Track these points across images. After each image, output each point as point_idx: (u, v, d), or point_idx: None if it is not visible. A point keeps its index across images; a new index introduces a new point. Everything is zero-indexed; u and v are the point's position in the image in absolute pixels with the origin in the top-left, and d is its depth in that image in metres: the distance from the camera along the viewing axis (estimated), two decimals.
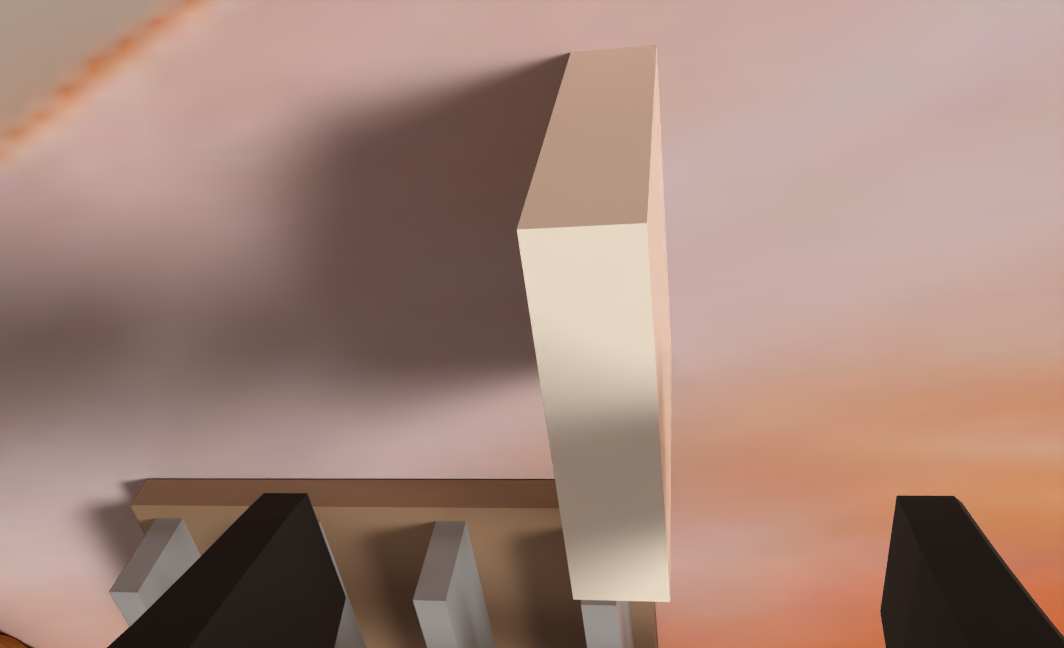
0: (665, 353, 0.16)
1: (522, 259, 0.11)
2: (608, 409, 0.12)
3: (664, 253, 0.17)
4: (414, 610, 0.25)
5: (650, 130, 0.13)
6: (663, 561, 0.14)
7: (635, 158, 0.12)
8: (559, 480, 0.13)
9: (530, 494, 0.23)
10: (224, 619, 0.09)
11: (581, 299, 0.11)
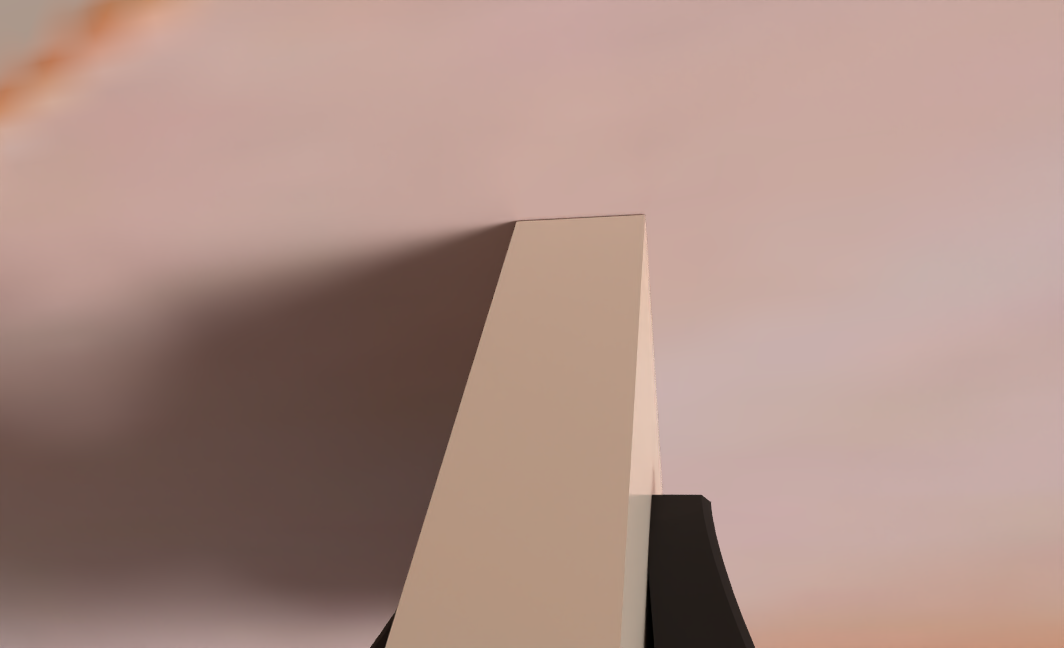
0: None
1: None
2: None
3: None
4: None
5: (629, 442, 0.07)
6: None
7: (598, 528, 0.07)
8: None
9: None
10: None
11: None
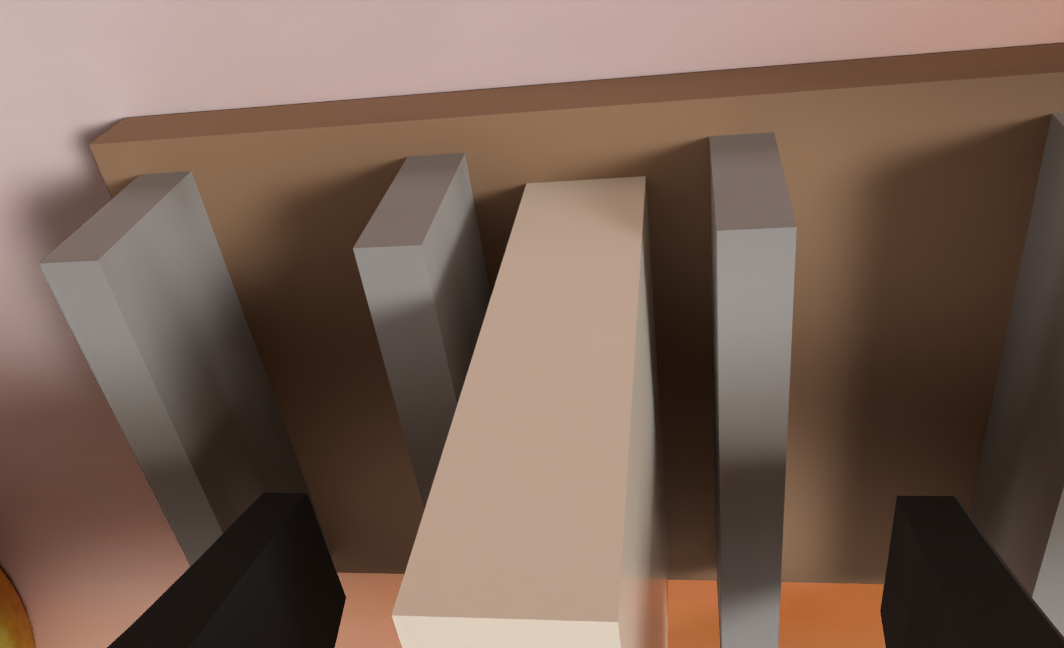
0: (658, 614, 0.11)
1: None
2: None
3: (657, 452, 0.13)
4: None
5: (631, 364, 0.08)
6: None
7: (604, 432, 0.08)
8: None
9: (913, 69, 0.11)
10: (224, 619, 0.09)
11: None
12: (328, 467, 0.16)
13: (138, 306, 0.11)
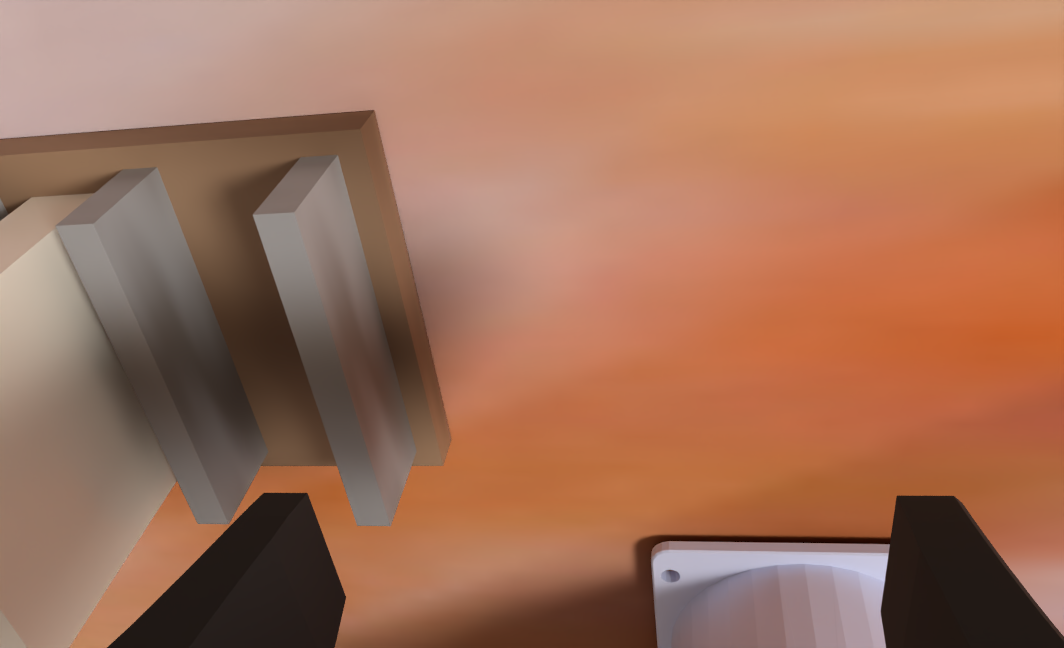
0: (97, 459, 0.19)
1: None
2: None
3: None
4: None
5: None
6: (24, 646, 0.17)
7: None
8: None
9: (233, 130, 0.18)
10: (224, 619, 0.09)
11: None
12: None
13: None
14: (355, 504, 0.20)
